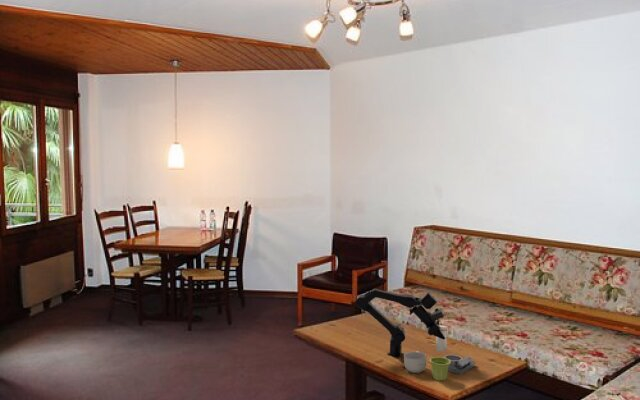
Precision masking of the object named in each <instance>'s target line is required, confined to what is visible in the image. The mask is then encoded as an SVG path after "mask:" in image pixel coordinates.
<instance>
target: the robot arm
mask: <svg viewBox="0 0 640 400" xmlns="http://www.w3.org/2000/svg"><path fill="white" fill-rule="evenodd" d="M376 298H377V299H381V300H386V301H390V302H394V303H398V304H400V305H401V306H403V307H406V308H408V309H409V316H411V315H412V314H414V316H416V317H417V319H419V320H420V322H421V323H423V325H424V326H425V327H426V329H427V334H428V335H429V336H430V337H431V336H434V337H435V338H436V337H439V338H441V339H443V340H444V339H445V337H444V335H443V334H442V332H441V331H440V326H439V325H440V321H439V320H440V319H443V318H444V317H445V315H444V313H443V311H442V309H439V308H438V307H437V308H434V311H433V312H430V311H427V310H431V309H432V308H433V307H434V306H435V305H437V304H438V300H437V299H436V298H435V296H433V295H432V294H430V293H429V292H426V294H425V295H424V296H422V298H421V297H415V295H413V294H406V293H403V294H399V293H396V292H395V293H393V292H390V291H386V290H382V289H378V288H373V289H372V290H369V291H368V292H366V293H364V294H359V295H358V296H357V298H356V300H355V305H356V306H357V307H358V308H359V309H361V310H362V311H364V312H366V313H368V314H369V315H371V317H373V318H374V319H375V320H376V321H377V322H378V323H379V324H381V326H383V327H384V328H385V329H386V330H387V331H388V332H389V334H390V339H389V352H387V355H388V356H392V357H394V358H400V357H401V356H404V354H405V353H403V352H402V346H403V345H402V343H404V341H405V340H406V331H405V327H402V326H401V325H400V324H399V323H397V324H394V323H393V322H392V321H390V320H389V319H388V318H387V316H385V315H384V314H383V313H382V312H381V311H380V310H378V309H377V308H376V306H375V307H374V305H373V303H372V301H373V300H374V299H376Z"/></svg>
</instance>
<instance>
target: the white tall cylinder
mask: <svg viewBox="0 0 640 400" xmlns="http://www.w3.org/2000/svg"><path fill="white" fill-rule="evenodd" d="M439 326H440V331H441V332H442V334H443V335H444V337H445V339H444V340H443V339H441V338H439V337H436V336H435V338H436V340H435V342H436V343H435V349H436V351H438V352H446V351H447V346H448V345H447V338H448V337H447V336H448V327H447V326H446V325H440V324H439Z"/></svg>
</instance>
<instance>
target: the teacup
mask: <svg viewBox="0 0 640 400" xmlns="http://www.w3.org/2000/svg"><path fill="white" fill-rule="evenodd" d="M403 357H404V358H403V360H404V362H403V363H404V367H405V369H406V370H407V371H408V372H409V373H413V374H419V373H422V372H423V371H425V370H426V369H427V368H426V367H427V354H426V353H424V352H421V351H420V350H416V351H408V352H405V353H404V354H403Z"/></svg>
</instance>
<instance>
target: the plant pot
mask: <svg viewBox="0 0 640 400" xmlns="http://www.w3.org/2000/svg"><path fill="white" fill-rule="evenodd" d="M429 361H430V364H431V370H432V371H431V372H432V378H433V380H436V381H439V382H441V381H446V380H447V377H448V372H449V371H448V367H449V364H450V360H449V359H446V358H444V356H442V357H441V356H435V357H431V358H430V359H429Z"/></svg>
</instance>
